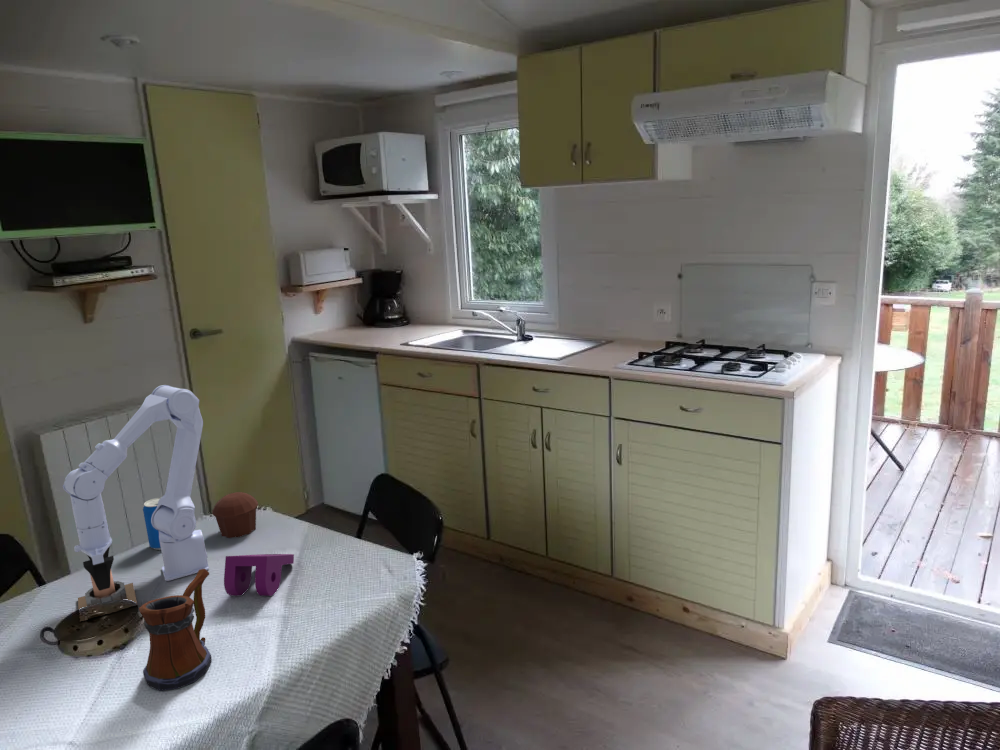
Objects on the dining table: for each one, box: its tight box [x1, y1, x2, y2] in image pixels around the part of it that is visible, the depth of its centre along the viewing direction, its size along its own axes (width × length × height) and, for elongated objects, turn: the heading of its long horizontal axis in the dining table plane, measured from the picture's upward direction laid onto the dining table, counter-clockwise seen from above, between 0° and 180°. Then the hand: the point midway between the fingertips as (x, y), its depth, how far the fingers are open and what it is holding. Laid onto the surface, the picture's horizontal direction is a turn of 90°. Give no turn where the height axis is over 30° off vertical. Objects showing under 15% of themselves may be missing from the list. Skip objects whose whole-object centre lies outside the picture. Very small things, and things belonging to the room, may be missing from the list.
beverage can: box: [142, 497, 161, 551], centre depth 183 cm, size 6×6×12 cm
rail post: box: [89, 571, 116, 598], centre depth 156 cm, size 4×4×7 cm
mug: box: [138, 569, 213, 692], centre depth 133 cm, size 18×12×15 cm, turn 171°
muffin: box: [211, 491, 259, 539], centre depth 190 cm, size 12×11×10 cm
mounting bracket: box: [223, 553, 295, 597], centre depth 162 cm, size 9×8×18 cm
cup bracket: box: [77, 580, 138, 609], centre depth 157 cm, size 11×11×3 cm
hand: (103, 581), depth 156 cm, fingers open, 7 cm apart
